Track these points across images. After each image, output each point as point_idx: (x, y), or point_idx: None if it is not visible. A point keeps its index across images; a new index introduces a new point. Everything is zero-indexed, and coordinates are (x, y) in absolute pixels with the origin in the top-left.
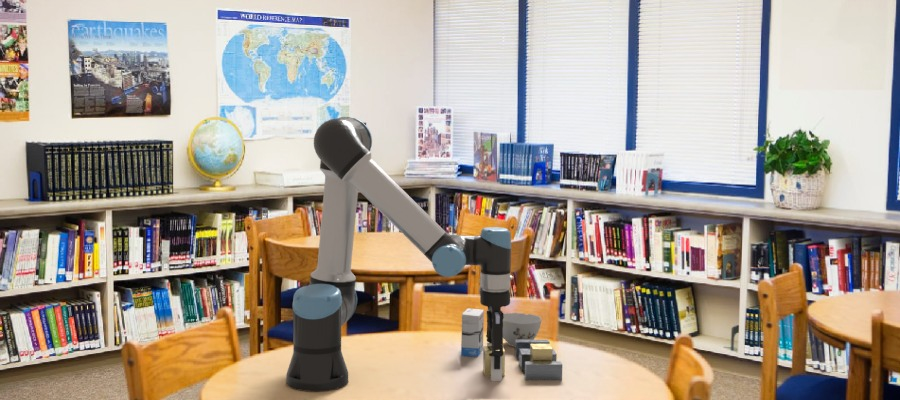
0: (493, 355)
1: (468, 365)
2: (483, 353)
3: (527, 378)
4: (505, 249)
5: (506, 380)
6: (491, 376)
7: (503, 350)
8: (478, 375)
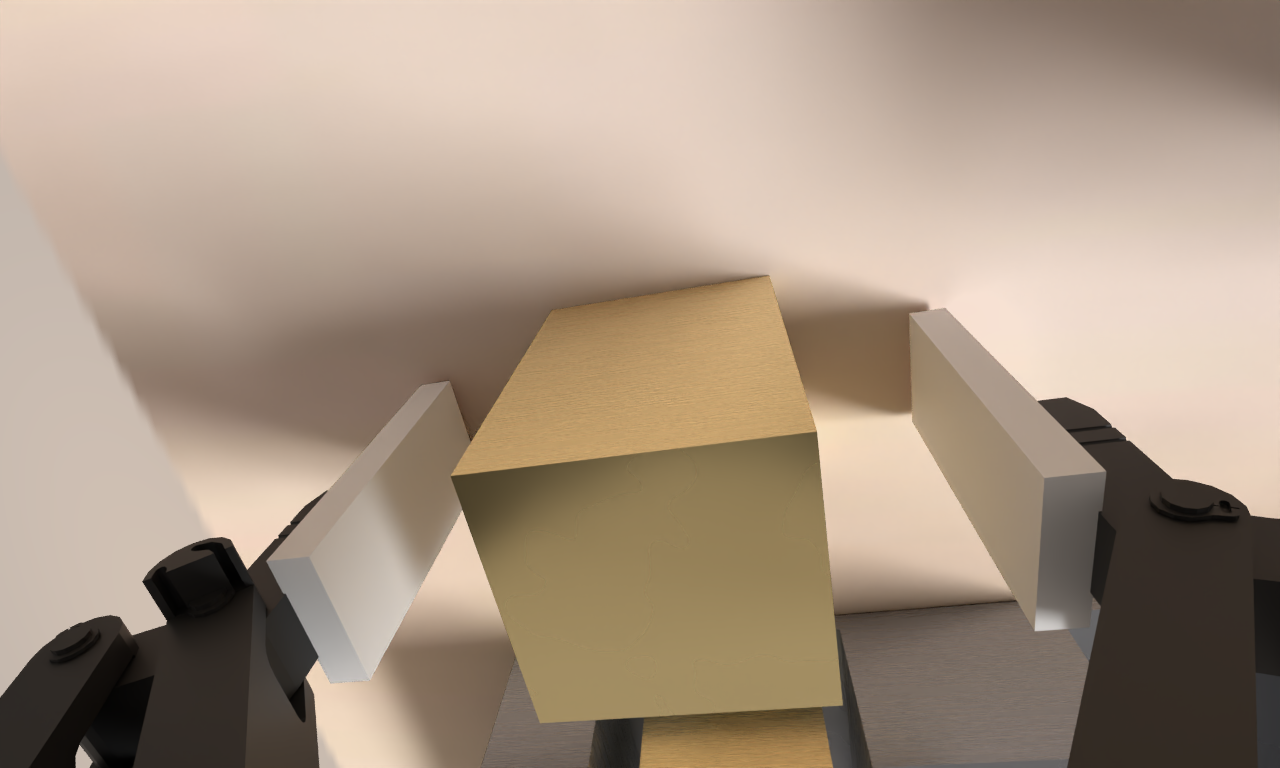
0: (77, 629)
1: (1092, 50)
2: (765, 376)
3: (516, 674)
4: None
5: None
6: (403, 412)
7: (572, 708)
8: (640, 234)
